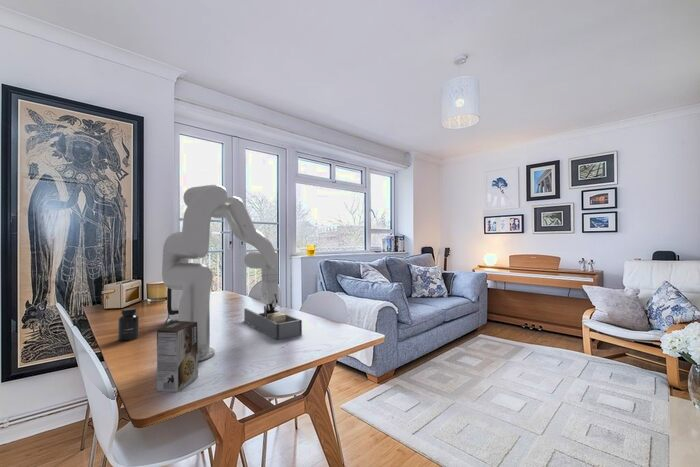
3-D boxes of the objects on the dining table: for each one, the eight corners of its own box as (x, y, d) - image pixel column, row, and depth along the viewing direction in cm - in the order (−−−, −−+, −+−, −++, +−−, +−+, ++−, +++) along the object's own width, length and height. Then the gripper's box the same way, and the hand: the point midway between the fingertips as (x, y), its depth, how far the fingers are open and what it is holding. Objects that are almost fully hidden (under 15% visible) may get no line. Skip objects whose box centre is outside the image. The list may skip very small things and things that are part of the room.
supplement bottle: (126, 342, 125) (126, 311, 125) (113, 340, 127) (113, 310, 127) (142, 337, 131) (142, 307, 131) (130, 335, 133) (130, 306, 134)
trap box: (301, 334, 132) (301, 320, 133) (276, 339, 126) (276, 324, 126) (265, 317, 163) (265, 305, 163) (244, 320, 156) (244, 308, 156)
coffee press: (159, 321, 157) (159, 260, 158) (194, 315, 168) (193, 258, 168) (167, 328, 144) (167, 261, 145) (204, 321, 155) (204, 259, 155)
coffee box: (177, 376, 93) (177, 320, 93) (198, 377, 92) (198, 321, 93) (155, 391, 84) (155, 329, 84) (178, 392, 83) (178, 330, 83)
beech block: (285, 323, 141) (285, 314, 141) (272, 325, 137) (272, 316, 137) (279, 320, 145) (279, 312, 146) (267, 323, 142) (267, 314, 142)
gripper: (255, 277, 149) (256, 316, 149) (268, 280, 137) (269, 323, 137) (271, 276, 153) (271, 314, 153) (284, 279, 142) (285, 320, 141)
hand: (270, 318), depth 145 cm, fingers closed
